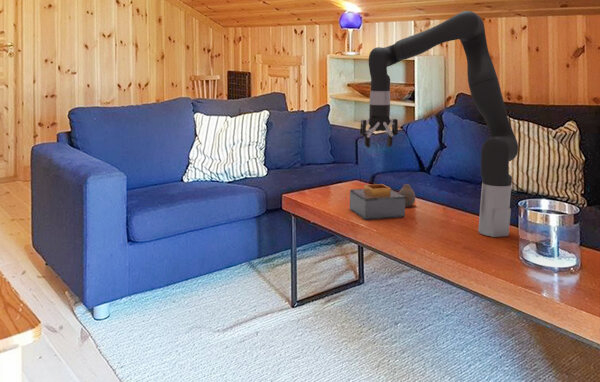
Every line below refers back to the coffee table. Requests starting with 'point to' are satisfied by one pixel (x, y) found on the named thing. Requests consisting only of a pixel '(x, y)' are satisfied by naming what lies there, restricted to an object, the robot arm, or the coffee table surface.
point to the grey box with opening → (377, 202)
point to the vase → (408, 195)
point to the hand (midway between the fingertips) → (378, 147)
